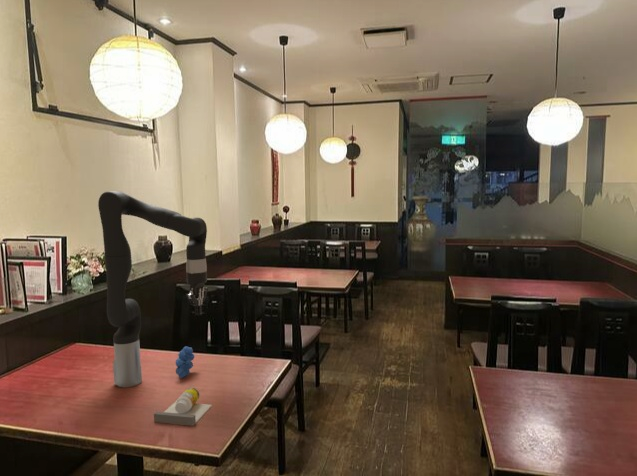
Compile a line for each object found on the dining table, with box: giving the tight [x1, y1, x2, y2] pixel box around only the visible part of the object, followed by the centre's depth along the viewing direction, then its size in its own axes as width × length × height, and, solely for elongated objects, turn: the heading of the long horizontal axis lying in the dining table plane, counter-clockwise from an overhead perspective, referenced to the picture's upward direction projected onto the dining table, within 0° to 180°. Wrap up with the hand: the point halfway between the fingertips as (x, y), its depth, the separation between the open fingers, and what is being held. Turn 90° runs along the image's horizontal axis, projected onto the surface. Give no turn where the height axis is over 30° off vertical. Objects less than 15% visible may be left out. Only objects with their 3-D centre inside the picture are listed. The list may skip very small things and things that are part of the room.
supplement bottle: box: [175, 386, 201, 414], centre depth 154 cm, size 6×6×10 cm
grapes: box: [175, 345, 195, 379], centre depth 183 cm, size 12×7×12 cm, turn 164°
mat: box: [153, 401, 213, 427], centre depth 152 cm, size 14×13×3 cm
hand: (198, 314), depth 173 cm, fingers closed
